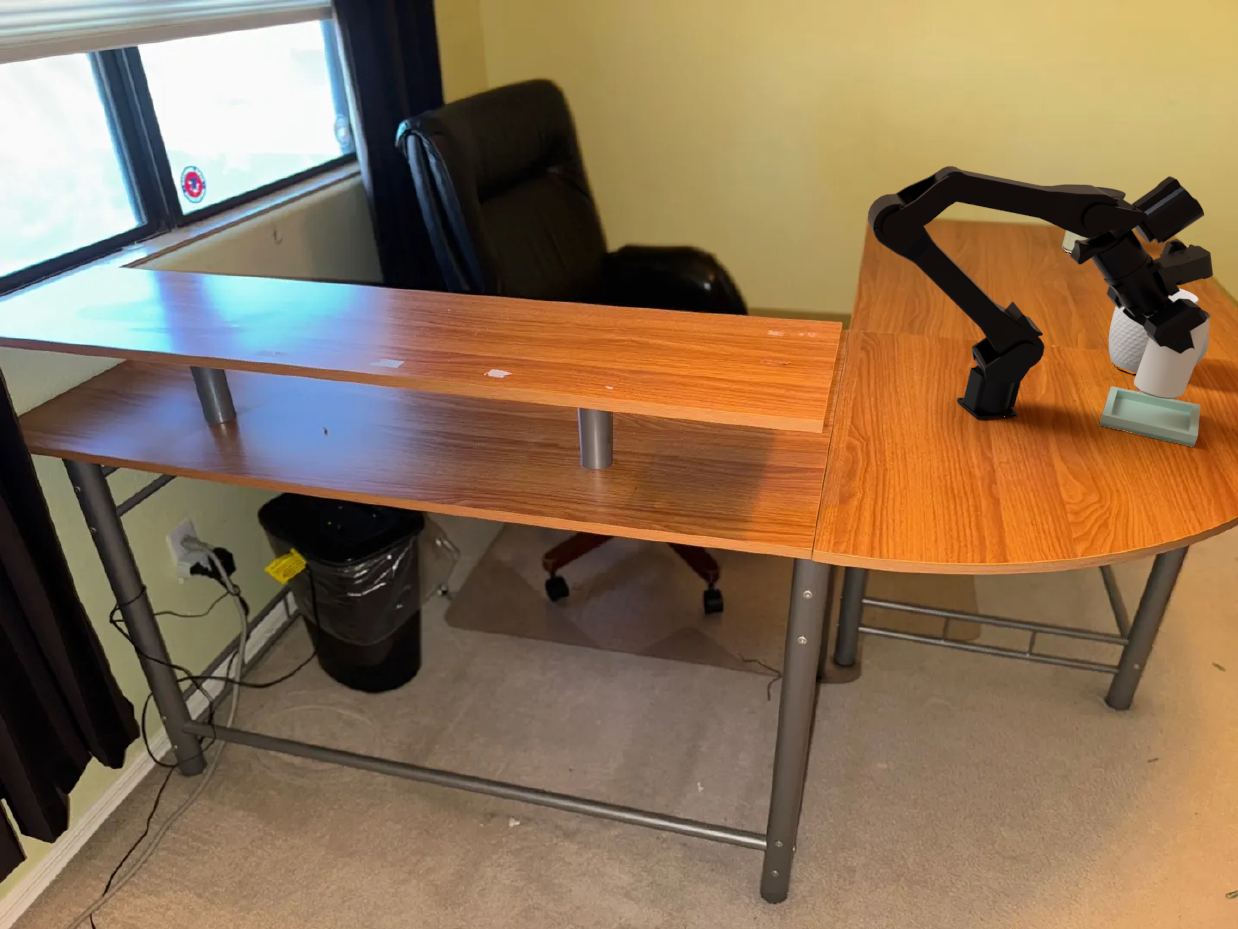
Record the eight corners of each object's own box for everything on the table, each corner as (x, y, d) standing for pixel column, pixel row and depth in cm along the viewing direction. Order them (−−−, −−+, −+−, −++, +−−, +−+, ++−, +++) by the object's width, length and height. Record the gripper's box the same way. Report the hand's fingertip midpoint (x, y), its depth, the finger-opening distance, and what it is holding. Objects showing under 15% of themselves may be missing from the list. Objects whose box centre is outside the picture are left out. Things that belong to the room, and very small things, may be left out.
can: (1192, 399, 125) (1225, 319, 119) (1150, 400, 124) (1180, 320, 118) (1164, 380, 130) (1193, 302, 124) (1123, 380, 130) (1151, 302, 123)
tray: (1193, 447, 122) (1197, 436, 122) (1098, 425, 128) (1102, 414, 127) (1196, 415, 131) (1200, 404, 130) (1107, 396, 137) (1111, 386, 136)
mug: (1209, 381, 143) (1238, 303, 136) (1173, 396, 137) (1202, 316, 131) (1121, 351, 154) (1144, 278, 147) (1084, 363, 148) (1107, 288, 142)
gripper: (1217, 245, 108) (1276, 337, 112) (1156, 209, 124) (1210, 291, 128) (1129, 302, 113) (1189, 388, 117) (1082, 260, 129) (1136, 337, 133)
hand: (1183, 348), depth 124 cm, fingers closed on can, 5 cm apart
